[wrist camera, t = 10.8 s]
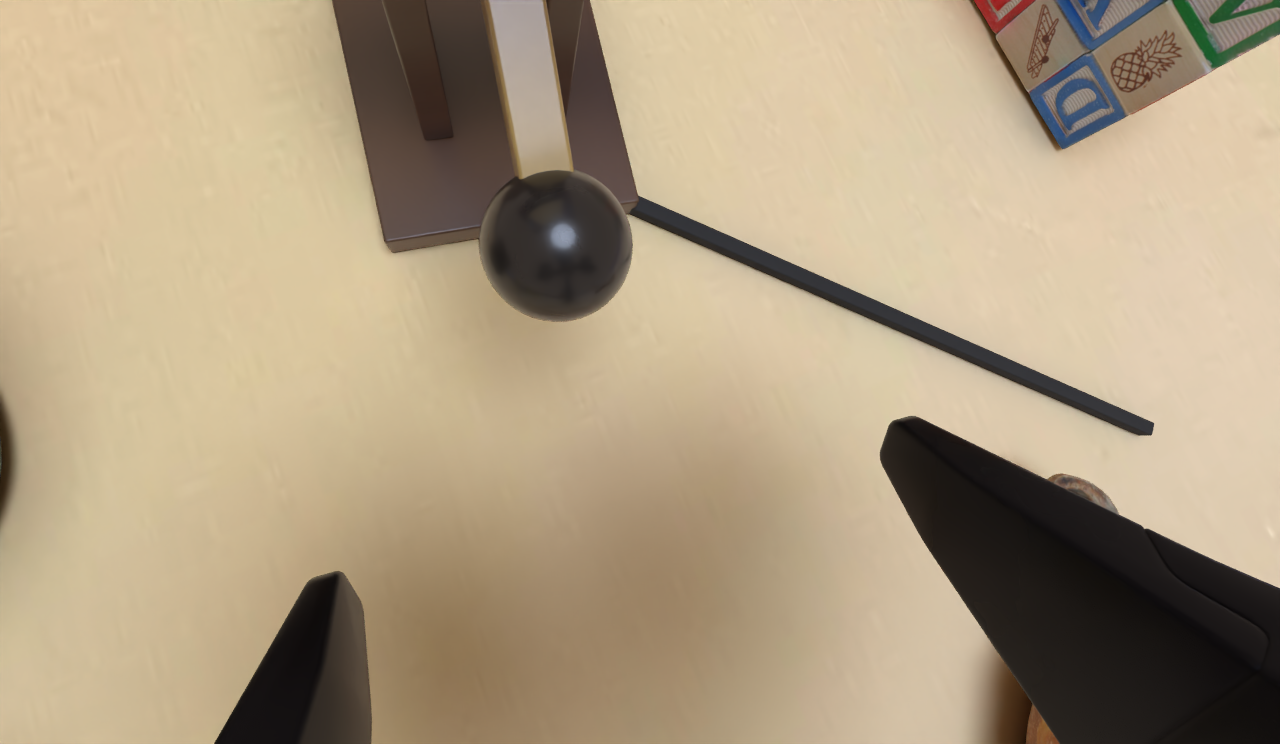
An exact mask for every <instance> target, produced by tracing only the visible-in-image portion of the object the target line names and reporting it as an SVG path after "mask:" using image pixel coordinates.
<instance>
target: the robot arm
mask: <svg viewBox="0 0 1280 744" xmlns="http://www.w3.org/2000/svg"><path fill="white" fill-rule="evenodd" d="M880 460H881V463H882V466H883V468H884V470H885V472H886V473H887V475H888V477H889V479H890V481H891V483H892V485H893V487H894V488H895V490H896V492H897V494H898V496H899V498H900V500H901V501H902V503H903V505H904V507H905V509H906V511H907V513H908V515H909V516H910V518H911V520H912V522H913V524H914V526H915V528H916V529H917V531H918V533H919V535H920V536H921V538H922V540H923V541H924V543H925V544H926V546H927V548H928V549H929V551H930V552H931V554H932V555H933V557H934V558H935V560H936V561H937V563H938V564H939V566H940V567H941V569H942V570H943V572H944V573H945V574H946V576H947V577H948V579H949V580H950V582H951V583H952V585H953V586H954V588H955V589H956V591H957V592H958V594H959V595H960V597H961V598H962V600H963V601H964V603H965V604H966V606H967V607H968V609H969V610H970V612H971V613H972V615H973V616H974V617H975V619H976V620H977V622H978V623H979V625H980V626H981V628H982V629H983V631H984V632H985V634H986V635H987V637H988V638H989V640H990V641H991V643H992V644H993V646H994V647H995V649H996V650H997V652H998V653H999V655H1000V656H1001V658H1002V659H1003V660H1004V662H1005V663H1006V665H1007V666H1008V668H1009V669H1010V671H1011V672H1012V674H1013V675H1014V677H1015V678H1016V680H1017V681H1018V683H1019V684H1020V686H1021V687H1022V689H1023V690H1024V692H1025V693H1026V695H1027V696H1028V698H1029V699H1030V701H1031V702H1032V703H1033V705H1034V706H1035V708H1036V709H1037V711H1038V712H1039V714H1040V715H1041V717H1042V718H1043V720H1044V721H1045V723H1046V724H1047V726H1048V727H1049V729H1050V730H1051V732H1052V733H1053V735H1054V736H1055V738H1056V739H1057V741H1058V742H1059V744H1280V588H1278V587H1275V586H1273V585H1270V584H1268V583H1266V582H1263V581H1261V580H1259V579H1256V578H1254V577H1252V576H1249V575H1247V574H1245V573H1243V572H1240V571H1238V570H1236V569H1233V568H1231V567H1229V566H1226V565H1224V564H1222V563H1220V562H1217V561H1215V560H1213V559H1211V558H1209V557H1206V556H1204V555H1202V554H1200V553H1198V552H1196V551H1194V550H1191V549H1189V548H1187V547H1185V546H1183V545H1181V544H1179V543H1176V542H1174V541H1172V540H1170V539H1168V538H1166V537H1164V536H1162V535H1160V534H1158V533H1156V532H1154V531H1152V530H1150V529H1144V528H1143V527H1142V526H1141V525H1139V524H1137V523H1135V522H1133V521H1131V520H1129V519H1127V518H1125V517H1123V516H1121V515H1119V514H1116V513H1114V512H1112V511H1110V510H1108V509H1106V508H1104V507H1102V506H1100V505H1098V504H1096V503H1094V502H1092V501H1090V500H1088V499H1086V498H1084V497H1081V496H1079V495H1077V494H1075V493H1073V492H1071V491H1069V490H1067V489H1065V488H1063V487H1061V486H1059V485H1057V484H1055V483H1053V482H1051V481H1049V480H1047V479H1044V478H1042V477H1040V476H1038V475H1036V474H1034V473H1032V472H1030V471H1028V470H1026V469H1024V468H1022V467H1020V466H1018V465H1016V464H1014V463H1012V462H1010V461H1007V460H1005V459H1003V458H1001V457H999V456H997V455H995V454H993V453H991V452H989V451H987V450H985V449H983V448H981V447H979V446H977V445H975V444H972V443H970V442H968V441H966V440H964V439H962V438H960V437H958V436H956V435H954V434H952V433H950V432H948V431H946V430H944V429H942V428H940V427H938V426H935V425H933V424H931V423H929V422H927V421H925V420H923V419H921V418H919V417H916V416H908V417H905V418H901V419H897V420H894V421H892V422H891V423H890V425H889V427H888V430H887V433H886V435H885V438H884V441H883V444H882V447H881V450H880ZM371 734H372V716H371V699H370V686H369V673H368V660H367V647H366V633H365V620H364V611H363V607H362V603H361V600H360V599H359V597H358V595H357V594H356V592H355V590H354V589H353V587H352V586H351V584H350V582H349V581H348V579H347V578H346V576H345V575H344V574H343V573H342V572H340V571H335V572H331V573H328V574H324V575H320V576H317V577H314V578H312V579H311V580H309V581H308V582H307V584H306V585H305V587H304V588H303V590H302V592H301V594H300V595H299V597H298V599H297V601H296V602H295V604H294V606H293V607H292V609H291V611H290V613H289V614H288V616H287V618H286V620H285V621H284V623H283V625H282V627H281V628H280V630H279V632H278V634H277V635H276V637H275V639H274V641H273V642H272V644H271V646H270V647H269V649H268V651H267V653H266V654H265V656H264V658H263V660H262V661H261V663H260V665H259V667H258V668H257V670H256V672H255V674H254V675H253V677H252V679H251V680H250V682H249V684H248V686H247V687H246V689H245V691H244V693H243V694H242V696H241V698H240V700H239V701H238V703H237V705H236V707H235V708H234V710H233V712H232V713H231V715H230V717H229V719H228V720H227V722H226V724H225V726H224V727H223V729H222V731H221V733H220V734H219V736H218V738H217V740H216V741H215V743H214V744H371Z"/></svg>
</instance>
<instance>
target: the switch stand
mask: <svg viewBox="0 0 1280 744" xmlns="http://www.w3.org/2000/svg"><path fill="white" fill-rule="evenodd" d="M332 3H333V7H334V12H335V16H336V21H337V26H338V30H339V35H340V39H341V44H342V49H343V53H344V58H345V62H346V67H347V72H348V76H349V81H350V85H351V90H352V95H353V99H354V104H355V108H356V113H357V118H358V122H359V127H360V131H361V136H362V141H363V145H364V150H365V154H366V159H367V164H368V168H369V173H370V177H371V182H372V187H373V191H374V196H375V200H376V205H377V210H378V214H379V219H380V223H381V228H382V233H383V237H384V241H385V243H386V244H387V246H388V247H389V249H390V250H391V252H399V251H405V250H411V249H417V248H423V247H429V246H435V245H441V244H447V243H453V242H459V241H465V240H471V239H477V238H479V233H480V227H481V223H482V219H483V216H484V213H485V211H486V208H487V207H488V205H489V203H490V201H491V200H492V198H493V197H494V196H495V194H496V193H497V192H498V191H499V190H500V189H501V188H502V187H503V186H504V185H505V184H506V183H507V182H509V181H510V180H511V179H513V178H514V177H515V174H514V169H513V164H512V158H511V153H510V148H509V143H508V138H507V133H506V128H505V123H504V118H503V113H502V108H501V102H500V97H499V92H498V87H497V82H496V77H495V72H494V67H493V62H492V57H491V52H490V46H489V41H488V36H487V31H486V26H485V21H484V16H483V11H482V6H481V1H480V0H332ZM546 4H547V10H548V16H549V22H550V28H551V34H552V40H553V46H554V52H555V58H556V64H557V70H558V76H559V82H560V88H561V95H562V101H563V107H564V113H565V119H566V125H567V131H568V137H569V143H570V149H571V155H572V161H573V167H574V169H575V170H578V171H581V172H584V173H586V174H588V175H590V176H592V177H594V178H595V179H597V180H598V181H599V182H601V183H602V184H603V185H604V186H606V187H607V188H608V189H609V190H610V191H611V192H612V194H613V195H614V196H615V197H616V198H617V200H618V201H619V203H620V204H621V206H622V208H623V210H624V212H625V214H628V213H630V211H631V209H632V208H635V207H636V206H637V204H638V202H639V198H638V194H637V190H636V186H635V182H634V178H633V174H632V170H631V166H630V162H629V158H628V153H627V149H626V145H625V141H624V137H623V133H622V129H621V125H620V121H619V117H618V113H617V109H616V105H615V101H614V97H613V92H612V88H611V84H610V80H609V76H608V72H607V68H606V64H605V60H604V56H603V52H602V48H601V44H600V40H599V35H598V31H597V27H596V23H595V19H594V15H593V11H592V7H591V3H590V0H546Z"/></svg>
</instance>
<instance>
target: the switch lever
mask: <svg viewBox="0 0 1280 744" xmlns="http://www.w3.org/2000/svg"><path fill="white" fill-rule="evenodd" d="M480 1H481V6H482V11H483V16H484V21H485V26H486V31H487V36H488V41H489V46H490V52H491V57H492V62H493V67H494V72H495V77H496V82H497V87H498V92H499V97H500V102H501V108H502V113H503V118H504V123H505V128H506V133H507V138H508V143H509V148H510V153H511V158H512V164H513V169H514V174H515V177H514V178H513V179H511V180H510V181H509V182H507V183H506V184H505V185H504V186H503V187H502V188H501V189H500V190H499V191H498V192H497V193H496V194H495V196H494V197H493V198H492V200H491V201H490V203H489V205H488V207H487V208H486V211H485V213H484V216H483V219H482V223H481V227H480V233H479V251H480V258H481V262H482V265H483V269H484V271H485V273H486V276H487V278H488V280H489V281H490V283H491V285H492V286H493V288H494V289H495V290H496V292H497V293H498V294H499V295H500V296H501V297H502V298H503V299H504V300H505V301H506V302H507V303H508V304H509V305H510V306H512V307H513V308H515V309H516V310H518V311H519V312H521V313H523V314H525V315H527V316H530V317H532V318H536V319H540V320H544V321H552V322H565V321H572V320H576V319H580V318H583V317H586V316H588V315H590V314H592V313H594V312H596V311H598V310H599V309H601V308H602V307H603V306H604V305H606V304H607V303H608V302H609V301H610V300H611V299H612V298H613V297H614V296H615V294H616V293H617V292H618V291H619V289H620V288H621V286H622V284H623V283H624V281H625V278H626V276H627V274H628V271H629V268H630V264H631V259H632V248H633V243H632V234H631V229H630V225H629V222H628V219H627V216H626V214H625V212H624V210H623V208H622V206H621V204H620V203H619V201H618V200H617V198H616V197H615V196H614V195H613V194H612V192H611V191H610V190H609V189H608V188H607V187H606V186H604V185H603V184H602V183H601V182H599V181H598V180H597V179H595V178H594V177H592V176H590V175H588V174H586V173H584V172H581V171H578V170H575V169H574V167H573V161H572V155H571V149H570V143H569V137H568V131H567V125H566V119H565V113H564V107H563V101H562V95H561V88H560V82H559V76H558V70H557V64H556V58H555V52H554V46H553V40H552V34H551V28H550V22H549V16H548V10H547V4H546V0H480Z"/></svg>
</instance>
